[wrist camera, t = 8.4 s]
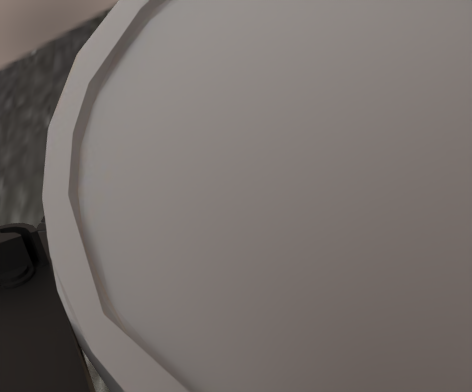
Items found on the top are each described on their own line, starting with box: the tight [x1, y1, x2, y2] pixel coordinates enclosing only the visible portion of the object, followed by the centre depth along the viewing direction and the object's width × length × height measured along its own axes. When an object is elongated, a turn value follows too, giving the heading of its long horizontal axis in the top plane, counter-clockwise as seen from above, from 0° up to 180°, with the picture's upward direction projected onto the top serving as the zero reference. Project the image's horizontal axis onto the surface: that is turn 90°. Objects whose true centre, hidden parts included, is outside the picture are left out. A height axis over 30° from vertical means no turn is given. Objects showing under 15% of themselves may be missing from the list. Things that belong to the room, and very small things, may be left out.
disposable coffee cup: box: [42, 0, 472, 392], centre depth 12 cm, size 10×10×12 cm
